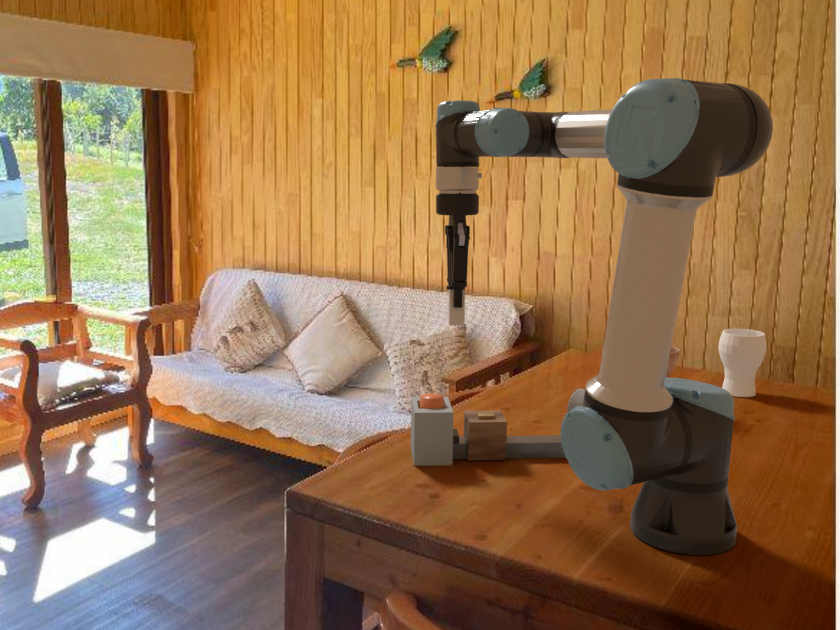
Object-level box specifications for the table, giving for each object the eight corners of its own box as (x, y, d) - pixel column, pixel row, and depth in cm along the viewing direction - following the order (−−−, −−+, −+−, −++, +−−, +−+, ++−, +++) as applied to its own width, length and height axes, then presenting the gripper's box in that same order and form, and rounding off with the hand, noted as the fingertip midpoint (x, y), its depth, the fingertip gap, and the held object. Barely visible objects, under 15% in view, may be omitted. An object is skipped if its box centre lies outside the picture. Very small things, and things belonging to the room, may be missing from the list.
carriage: (505, 459, 151) (507, 418, 150) (468, 460, 151) (469, 419, 149) (499, 446, 158) (500, 407, 156) (463, 447, 157) (464, 407, 156)
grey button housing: (452, 465, 149) (453, 412, 147) (413, 465, 148) (414, 412, 147) (446, 446, 159) (447, 396, 157) (410, 446, 158) (411, 397, 156)
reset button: (444, 431, 151) (444, 400, 149) (420, 431, 150) (420, 400, 149) (442, 423, 155) (442, 393, 154) (418, 424, 155) (419, 393, 153)
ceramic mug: (599, 436, 166) (602, 399, 165) (565, 427, 171) (567, 391, 170) (625, 425, 174) (627, 390, 172) (591, 416, 179) (593, 382, 178)
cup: (709, 386, 204) (714, 327, 201) (752, 387, 203) (758, 328, 200) (723, 398, 193) (728, 336, 190) (768, 399, 193) (774, 337, 190)
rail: (577, 457, 154) (578, 434, 153) (450, 459, 152) (451, 436, 151) (572, 450, 157) (573, 427, 157) (448, 451, 156) (448, 429, 155)
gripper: (484, 192, 137) (483, 331, 141) (473, 191, 150) (471, 318, 154) (440, 193, 137) (439, 331, 141) (432, 191, 149) (432, 318, 153)
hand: (456, 324), depth 147 cm, fingers closed
